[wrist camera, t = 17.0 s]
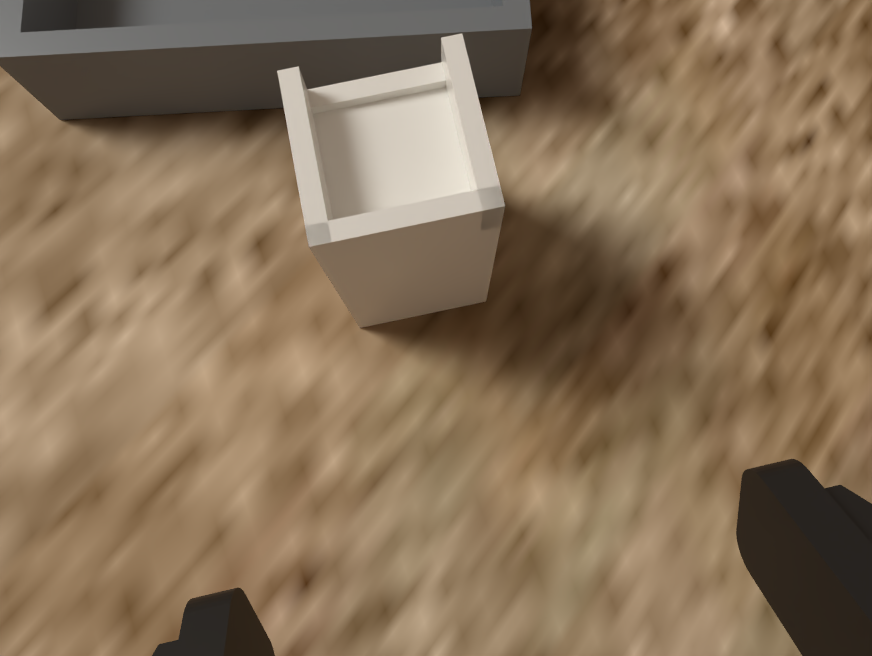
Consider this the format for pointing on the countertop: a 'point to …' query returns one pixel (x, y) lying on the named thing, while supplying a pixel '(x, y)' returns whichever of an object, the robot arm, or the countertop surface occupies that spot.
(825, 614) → the robot arm
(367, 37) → the tray
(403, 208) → the open white crate
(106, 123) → the countertop surface
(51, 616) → the countertop surface
